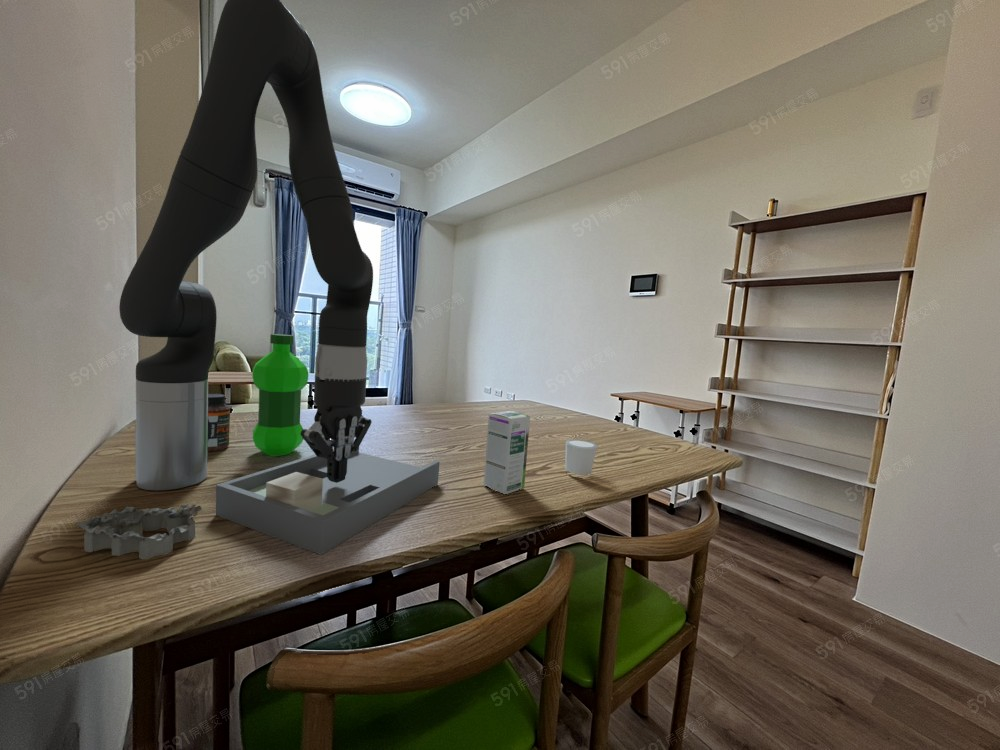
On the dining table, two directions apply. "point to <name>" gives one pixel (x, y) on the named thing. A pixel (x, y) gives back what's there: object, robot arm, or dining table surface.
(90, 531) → the grey cookie cutter
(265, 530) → the box
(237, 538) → the dining table surface
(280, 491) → the block
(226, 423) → the supplement bottle
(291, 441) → the plastic bottle
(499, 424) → the syrup box
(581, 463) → the white cylinder
